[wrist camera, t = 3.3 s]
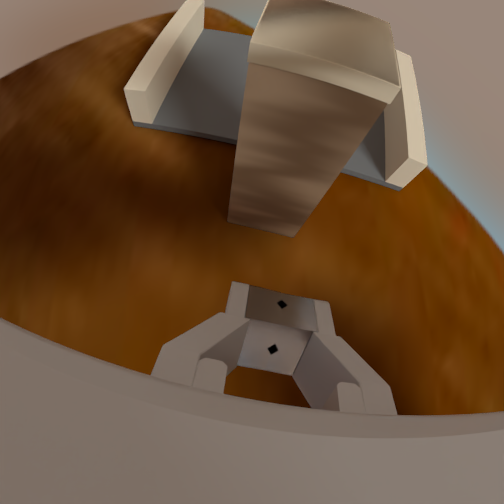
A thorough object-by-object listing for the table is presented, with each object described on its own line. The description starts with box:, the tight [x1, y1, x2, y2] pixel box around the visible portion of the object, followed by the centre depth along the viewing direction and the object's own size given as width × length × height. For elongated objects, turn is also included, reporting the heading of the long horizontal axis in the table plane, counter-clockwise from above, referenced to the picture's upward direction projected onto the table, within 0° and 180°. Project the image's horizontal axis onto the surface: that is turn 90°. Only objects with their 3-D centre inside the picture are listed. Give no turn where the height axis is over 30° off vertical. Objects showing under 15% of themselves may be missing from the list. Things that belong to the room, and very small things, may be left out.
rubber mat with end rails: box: [124, 0, 427, 191], centre depth 23 cm, size 21×13×4 cm, turn 78°
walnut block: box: [227, 0, 401, 238], centre depth 15 cm, size 4×4×14 cm
